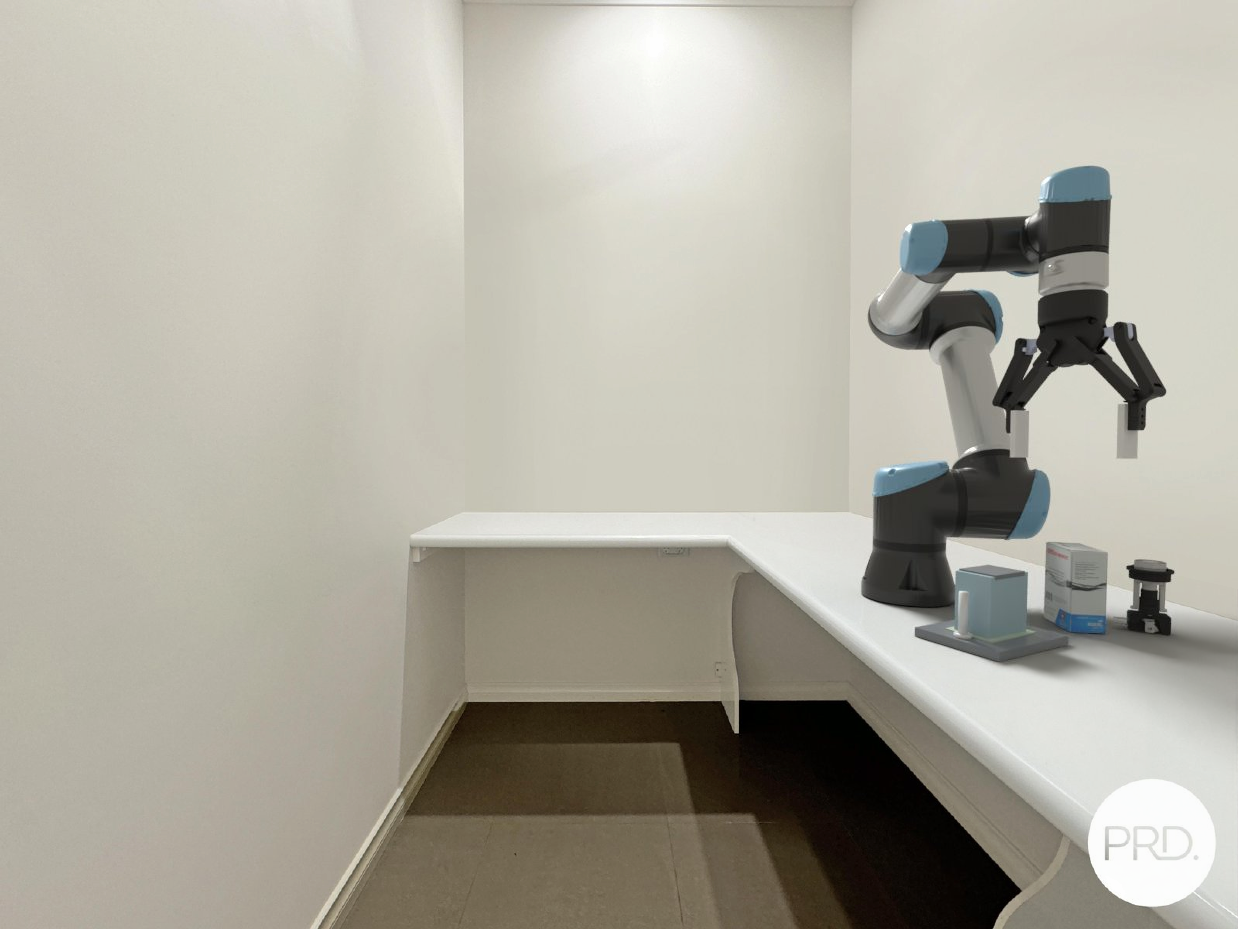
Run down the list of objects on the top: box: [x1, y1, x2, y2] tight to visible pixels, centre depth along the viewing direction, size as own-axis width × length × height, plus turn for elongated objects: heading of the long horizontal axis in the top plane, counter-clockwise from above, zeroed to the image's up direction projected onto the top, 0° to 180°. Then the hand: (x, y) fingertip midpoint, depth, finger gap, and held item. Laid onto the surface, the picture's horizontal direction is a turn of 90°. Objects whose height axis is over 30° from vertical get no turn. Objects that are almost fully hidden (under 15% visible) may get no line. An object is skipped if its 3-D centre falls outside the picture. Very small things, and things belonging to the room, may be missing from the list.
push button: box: [1112, 558, 1175, 636], centre depth 94 cm, size 7×5×10 cm
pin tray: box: [914, 591, 1070, 663], centre depth 89 cm, size 12×15×7 cm
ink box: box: [1043, 541, 1109, 635], centre depth 97 cm, size 8×5×12 cm, turn 168°
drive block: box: [953, 564, 1029, 639], centre depth 89 cm, size 5×8×8 cm, turn 118°
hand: (1069, 458), depth 85 cm, fingers open, 13 cm apart
